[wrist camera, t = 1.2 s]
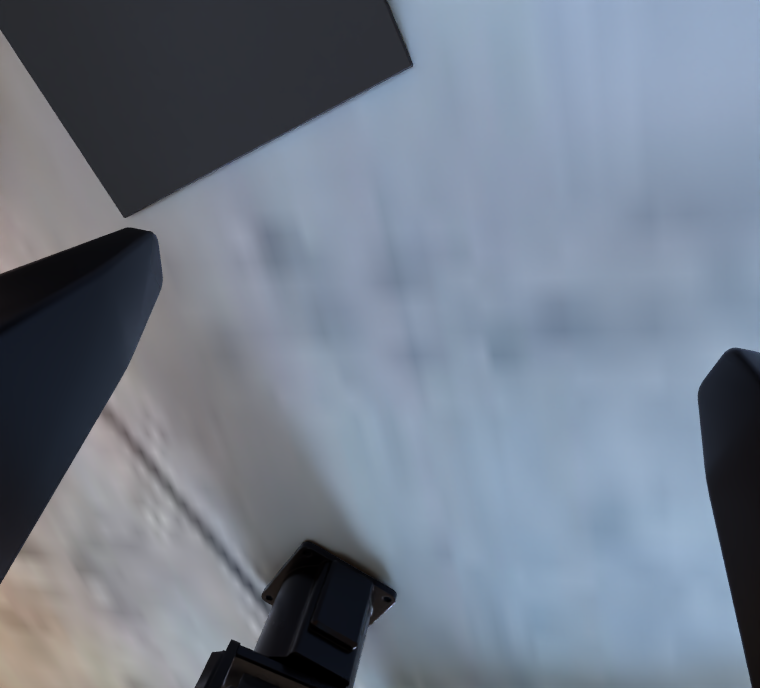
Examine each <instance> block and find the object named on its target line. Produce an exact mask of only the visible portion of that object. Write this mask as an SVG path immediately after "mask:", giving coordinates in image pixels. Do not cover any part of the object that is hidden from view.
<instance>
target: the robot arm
mask: <svg viewBox="0 0 760 688" xmlns="http://www.w3.org/2000/svg"><path fill="white" fill-rule="evenodd" d="M162 282H163V274H162V267H161V259H160V251H159V244H158V239H157V237H156V235H155V234H154V233H153V232H151V231H146V230H141V229H136V228H124V229H121V230H119V231H116V232H113V233H110V234H108V235H105V236H102V237H100V238H97V239H94V240H91V241H89V242H86V243H83V244H81V245H78V246H75V247H72V248H70V249H67V250H64V251H62V252H59V253H56V254H53V255H51V256H48V257H45V258H43V259H40V260H37V261H34V262H32V263H29V264H26V265H24V266H21V267H18V268H15V269H13V270H10V271H7V272H4V273H2V274H0V584H1V582H2V580H3V579H4V577H5V575H6V574H7V572H8V570H9V569H10V567H11V565H12V563H13V562H14V560H15V558H16V557H17V555H18V553H19V552H20V550H21V548H22V546H23V545H24V543H25V541H26V540H27V538H28V536H29V534H30V533H31V531H32V529H33V528H34V526H35V524H36V523H37V521H38V519H39V517H40V516H41V514H42V512H43V511H44V509H45V507H46V506H47V504H48V502H49V500H50V499H51V497H52V495H53V494H54V492H55V490H56V489H57V487H58V485H59V483H60V482H61V480H62V478H63V477H64V475H65V473H66V471H67V470H68V468H69V466H70V465H71V463H72V461H73V460H74V458H75V456H76V454H77V453H78V451H79V449H80V448H81V446H82V444H83V443H84V441H85V439H86V437H87V436H88V434H89V432H90V431H91V429H92V427H93V426H94V424H95V422H96V420H97V419H98V417H99V415H100V414H101V412H102V410H103V408H104V407H105V405H106V403H107V402H108V400H109V398H110V397H111V395H112V393H113V391H114V390H115V388H116V386H117V385H118V383H119V381H120V380H121V378H122V376H123V374H124V372H125V370H126V369H127V367H128V365H129V363H130V360H131V358H132V356H133V354H134V352H135V349H136V347H137V345H138V342H139V340H140V338H141V335H142V333H143V331H144V328H145V326H146V323H147V321H148V319H149V316H150V314H151V312H152V309H153V307H154V305H155V302H156V300H157V298H158V295H159V293H160V291H161V287H162ZM698 405H699V415H700V425H701V435H702V445H703V455H704V465H705V473H706V480H707V486H708V491H709V497H710V501H711V506H712V510H713V515H714V519H715V524H716V528H717V532H718V537H719V541H720V546H721V550H722V555H723V559H724V564H725V568H726V573H727V577H728V582H729V586H730V591H731V595H732V600H733V604H734V609H735V613H736V618H737V622H738V627H739V631H740V636H741V640H742V645H743V649H744V654H745V658H746V663H747V667H748V672H749V676H750V681H751V685H752V688H760V353H759V352H756V351H751V350H746V349H741V348H731V349H729V350H727V351H726V352H725V353H724V354H723V355H722V356H721V358H720V359H719V360H718V362H717V363H716V364H715V366H714V367H713V368H712V370H711V371H710V372H709V374H708V375H707V376H706V378H705V379H704V380H703V382H702V383H701V385H700V388H699V391H698ZM396 597H397V594H396V592H395V591H394V590H393V589H391V588H389V587H387V586H386V585H384V584H382V583H380V582H379V581H377V580H375V579H374V578H372V577H370V576H368V575H367V574H365V573H363V572H362V571H360V570H358V569H356V568H355V567H353V566H351V565H349V564H348V563H346V562H344V561H343V560H341V559H339V558H337V557H336V556H334V555H332V554H331V553H329V552H327V551H325V550H324V549H322V548H320V547H319V546H317V545H315V544H313V543H311V542H304V543H302V544H301V546H300V547H299V548H298V549H297V550H296V552H295V553H294V554H293V555H292V556H291V558H290V559H289V560H288V561H287V562H286V564H285V565H284V566H283V567H282V568H281V570H280V571H279V572H278V573H277V574H276V576H275V577H274V578H273V579H272V580H271V582H270V583H269V584H268V585H267V586H266V588H265V589H264V591H263V593H262V599H263V600H264V601H266V602H267V603H269V604H271V605H273V606H272V608H271V611H270V613H269V615H268V618H267V620H266V623H265V625H264V627H263V630H262V632H261V635H260V637H259V640H258V642H257V644H256V647H255V649H254V651H253V650H251V649H248V648H246V647H244V646H241V645H240V643H239V642H237V641H234V640H232V639H231V641H230V643H229V645H228V647H227V650H226V651H224V650H223V651H220V652H212V653H211V656H210V658H209V660H208V662H207V664H206V666H205V668H204V670H203V672H202V674H201V676H200V678H199V680H198V682H197V684H196V686H195V688H353V686H354V682H355V678H356V674H357V669H358V665H359V661H360V657H361V653H362V649H363V645H364V641H365V637H366V633H367V629H368V627H369V626H370V625H371V624H372V623H374V622H375V621H376V620H377V619H378V618H379V617H380V616H381V615H382V614H384V613H385V612H386V611H387V610H388V609H389V608H390V607H391V606H392V605H393V604H395V602H396Z"/></svg>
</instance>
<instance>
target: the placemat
mask: <svg viewBox="0 0 760 688" xmlns="http://www.w3.org/2000/svg"><path fill="white" fill-rule="evenodd" d="M0 30H1V31H2V33H3V34H4V36H5V37H6V39H7V40H8V42H9V43H10V45H11V47H12V48H13V50H14V51H15V53H16V54H17V56H18V57H19V59H20V60H21V62H22V63H23V65H24V66H25V68H26V69H27V71H28V72H29V74H30V75H31V77H32V78H33V80H34V81H35V83H36V85H37V86H38V88H39V89H40V91H41V92H42V94H43V95H44V97H45V98H46V100H47V101H48V103H49V104H50V106H51V107H52V109H53V110H54V112H55V113H56V115H57V116H58V118H59V119H60V121H61V123H62V124H63V126H64V127H65V129H66V130H67V132H68V133H69V135H70V136H71V138H72V139H73V141H74V142H75V144H76V145H77V147H78V148H79V150H80V151H81V153H82V154H83V156H84V157H85V159H86V161H87V162H88V164H89V165H90V167H91V168H92V170H93V171H94V173H95V174H96V176H97V177H98V179H99V180H100V182H101V183H102V185H103V186H104V188H105V189H106V191H107V192H108V194H109V195H110V197H111V199H112V200H113V202H114V203H115V205H116V206H117V208H118V209H119V211H120V212H121V214H122V215H123V217H124V218H126V217H128V216H130V215H132V214H134V213H136V212H138V211H139V210H141V209H143V208H145V207H147V206H149V205H151V204H153V203H155V202H156V201H158V200H160V199H162V198H164V197H166V196H168V195H170V194H172V193H173V192H175V191H177V190H179V189H181V188H183V187H185V186H187V185H189V184H190V183H192V182H194V181H196V180H198V179H200V178H202V177H204V176H206V175H207V174H209V173H211V172H213V171H215V170H217V169H219V168H221V167H223V166H224V165H226V164H228V163H230V162H232V161H234V160H236V159H238V158H240V157H241V156H243V155H245V154H247V153H249V152H251V151H253V150H255V149H257V148H258V147H260V146H262V145H264V144H266V143H268V142H270V141H272V140H274V139H275V138H277V137H279V136H281V135H283V134H285V133H287V132H289V131H291V130H292V129H294V128H296V127H298V126H300V125H302V124H304V123H306V122H308V121H309V120H311V119H313V118H315V117H317V116H319V115H321V114H323V113H325V112H326V111H328V110H330V109H332V108H334V107H336V106H338V105H340V104H342V103H343V102H345V101H347V100H349V99H351V98H353V97H355V96H357V95H359V94H360V93H362V92H364V91H366V90H368V89H370V88H372V87H374V86H376V85H377V84H379V83H381V82H383V81H385V80H387V79H389V78H391V77H393V76H394V75H396V74H398V73H400V72H402V71H404V70H406V69H408V68H410V67H411V66H413V63H412V61H411V59H410V56H409V54H408V51H407V49H406V46H405V44H404V42H403V39H402V37H401V34H400V32H399V29H398V27H397V25H396V22H395V20H394V17H393V15H392V12H391V10H390V8H389V5H388V3H387V0H0Z"/></svg>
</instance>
